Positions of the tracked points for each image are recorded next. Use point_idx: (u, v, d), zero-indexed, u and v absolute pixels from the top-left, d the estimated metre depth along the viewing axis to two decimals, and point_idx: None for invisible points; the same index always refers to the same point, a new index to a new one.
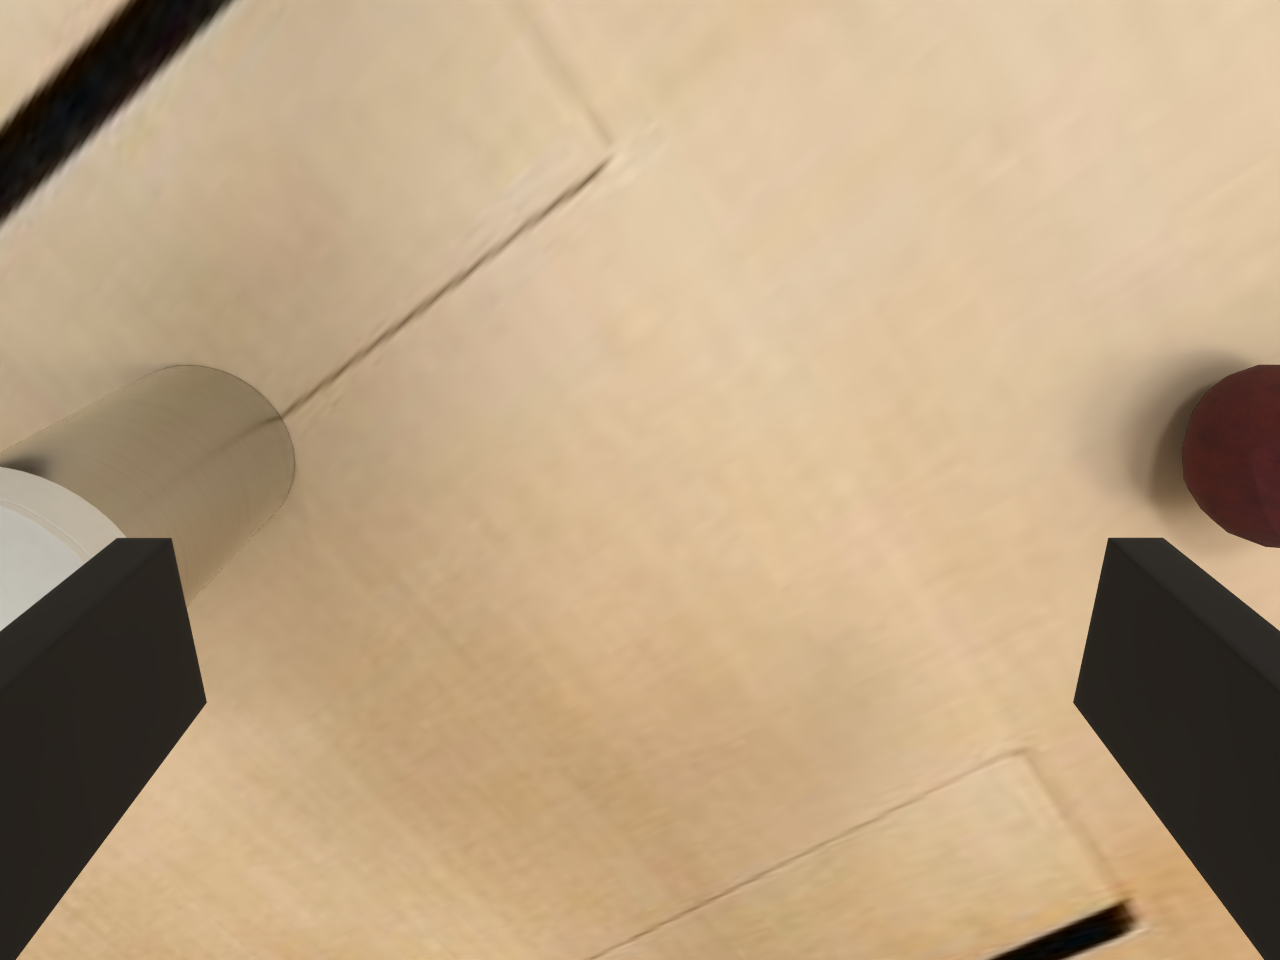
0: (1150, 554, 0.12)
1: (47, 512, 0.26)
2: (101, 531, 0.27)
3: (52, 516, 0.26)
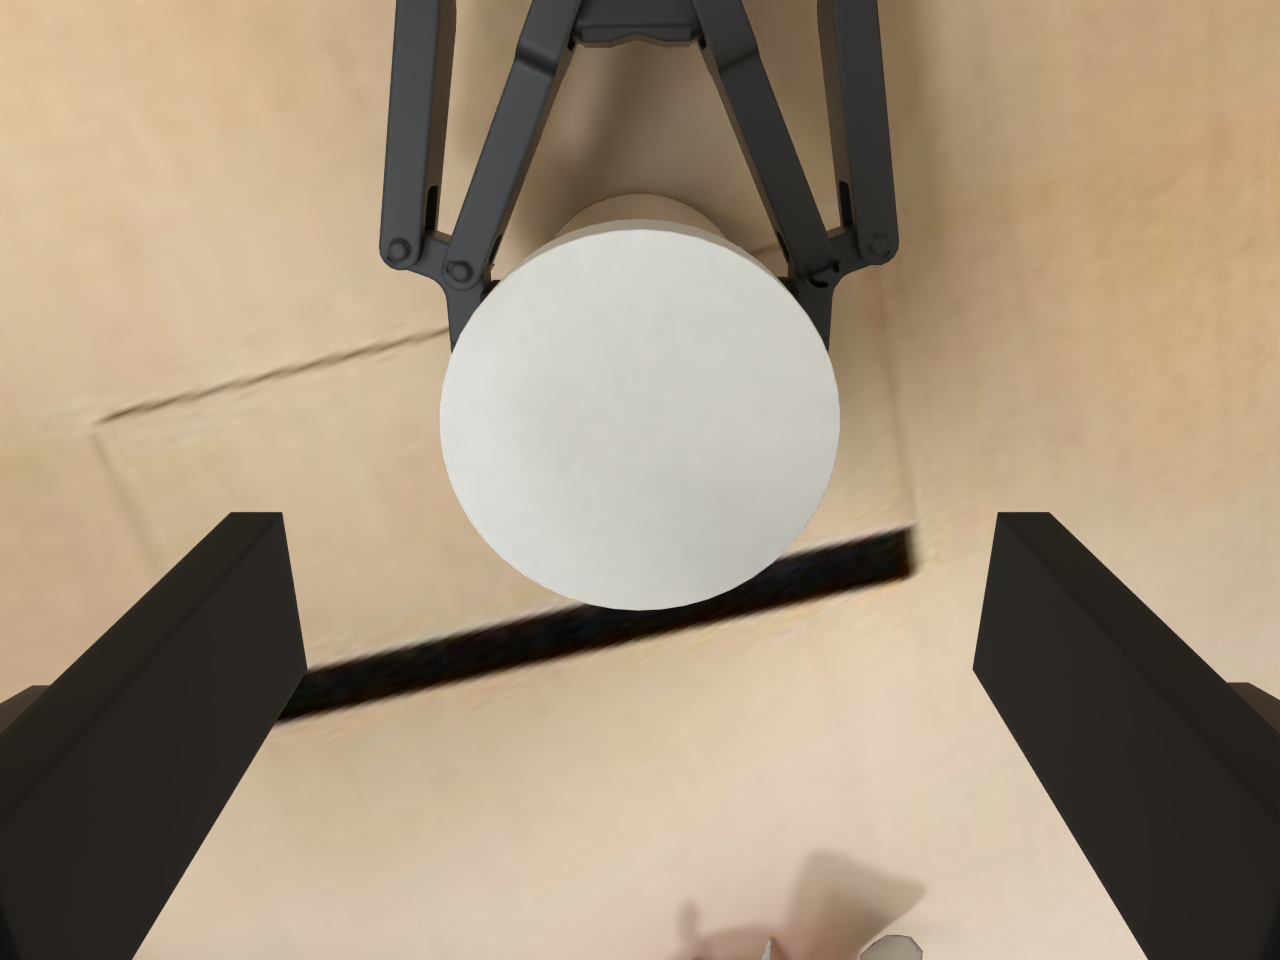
0: (1033, 526, 0.13)
1: None
2: None
3: None
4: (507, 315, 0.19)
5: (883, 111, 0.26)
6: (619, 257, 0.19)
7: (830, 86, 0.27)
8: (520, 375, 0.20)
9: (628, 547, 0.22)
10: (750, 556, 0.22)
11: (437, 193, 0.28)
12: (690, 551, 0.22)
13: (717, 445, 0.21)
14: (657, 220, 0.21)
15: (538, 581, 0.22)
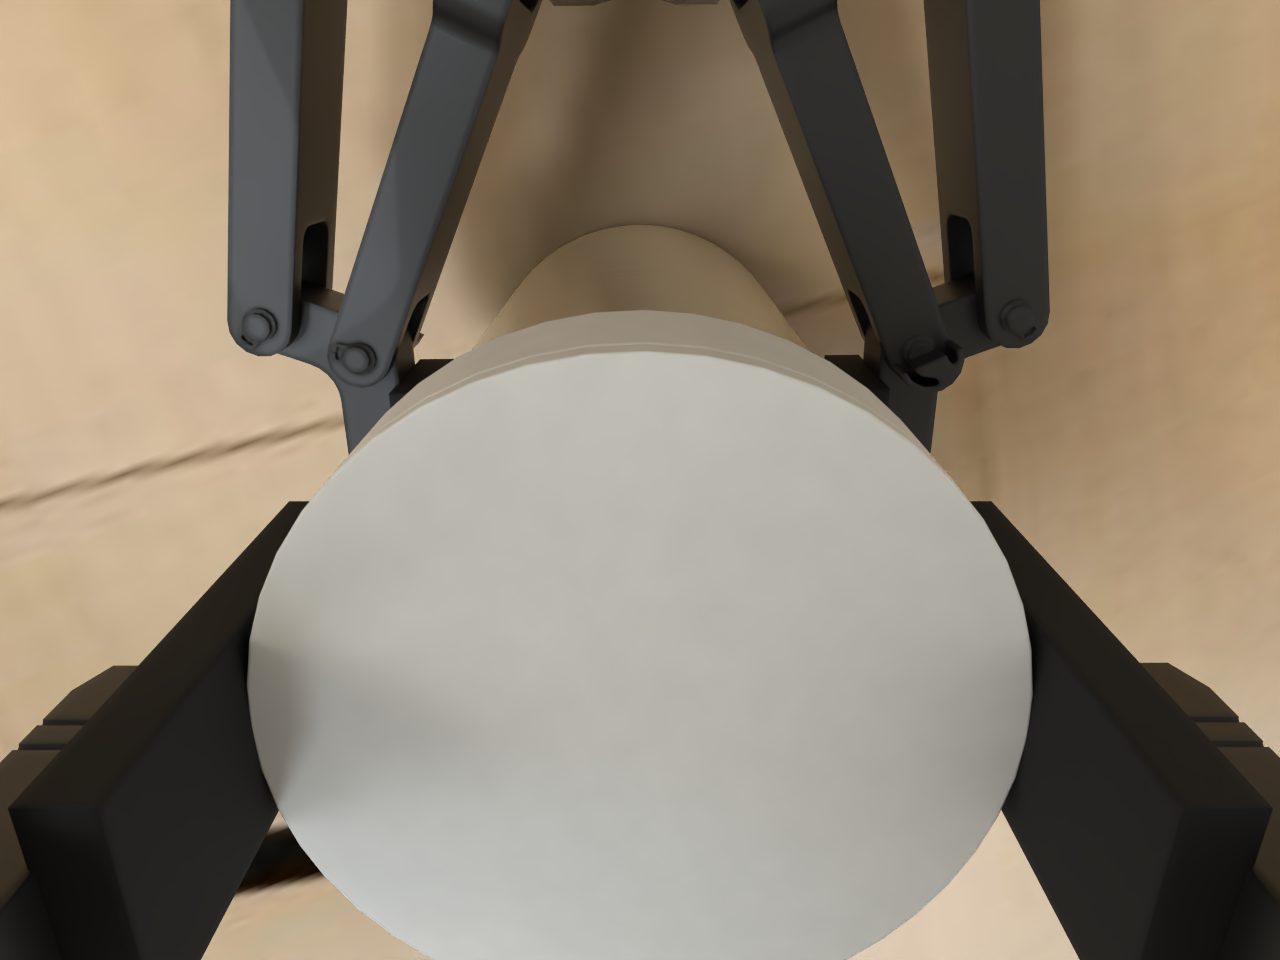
0: None
1: None
2: None
3: None
4: (368, 519, 0.10)
5: (1037, 106, 0.16)
6: (596, 408, 0.09)
7: (942, 66, 0.17)
8: (401, 628, 0.10)
9: (618, 913, 0.12)
10: (844, 928, 0.12)
11: (328, 233, 0.18)
12: (733, 920, 0.12)
13: (789, 750, 0.11)
14: (673, 314, 0.11)
15: None
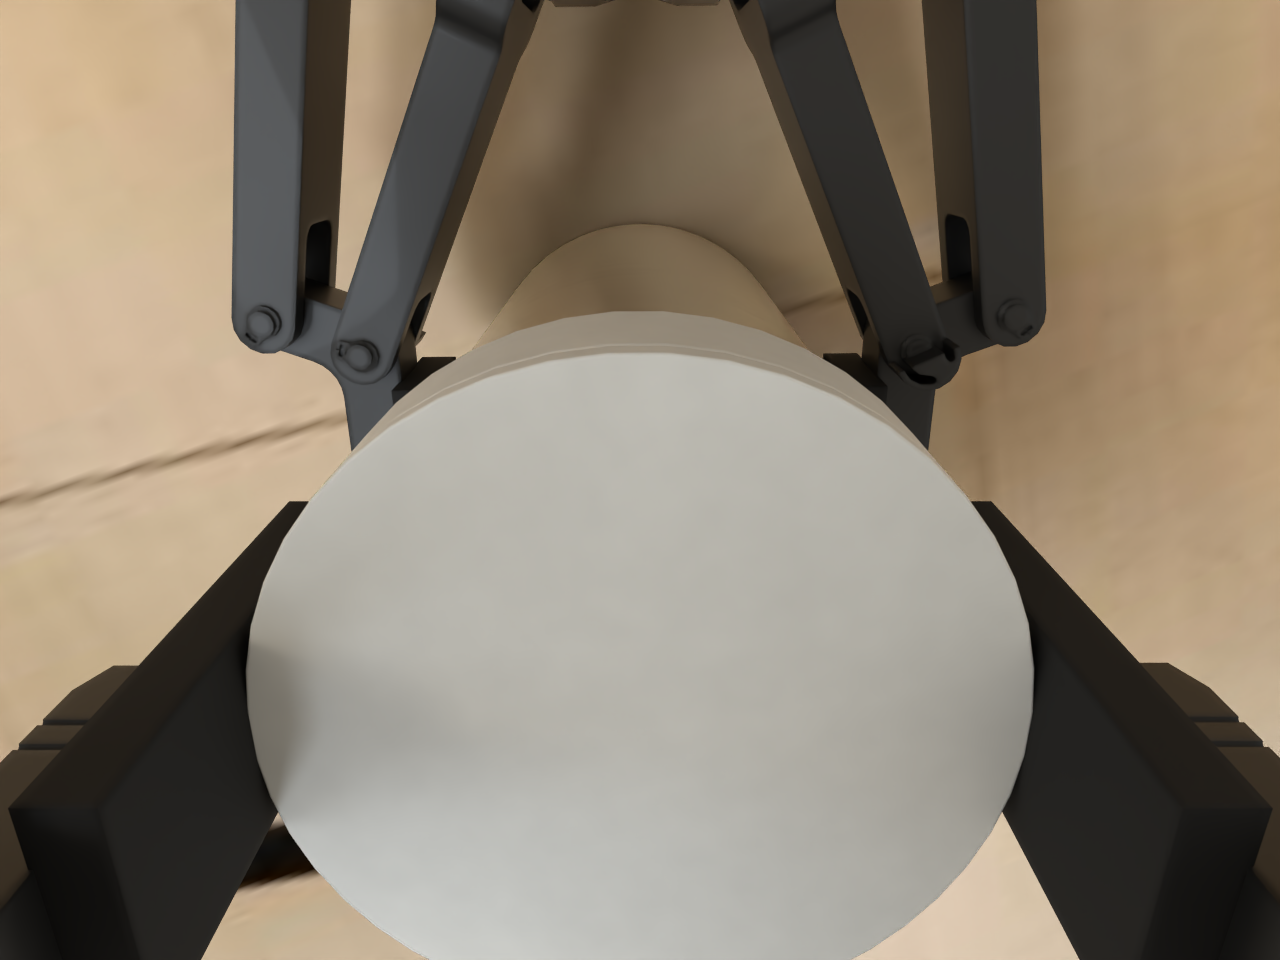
0: None
1: None
2: None
3: None
4: (414, 911, 0.12)
5: (1033, 106, 0.16)
6: (300, 752, 0.11)
7: (940, 67, 0.17)
8: (518, 902, 0.11)
9: (875, 764, 0.11)
10: (939, 543, 0.10)
11: (331, 231, 0.19)
12: (905, 658, 0.10)
13: (668, 603, 0.10)
14: None
15: (923, 905, 0.12)
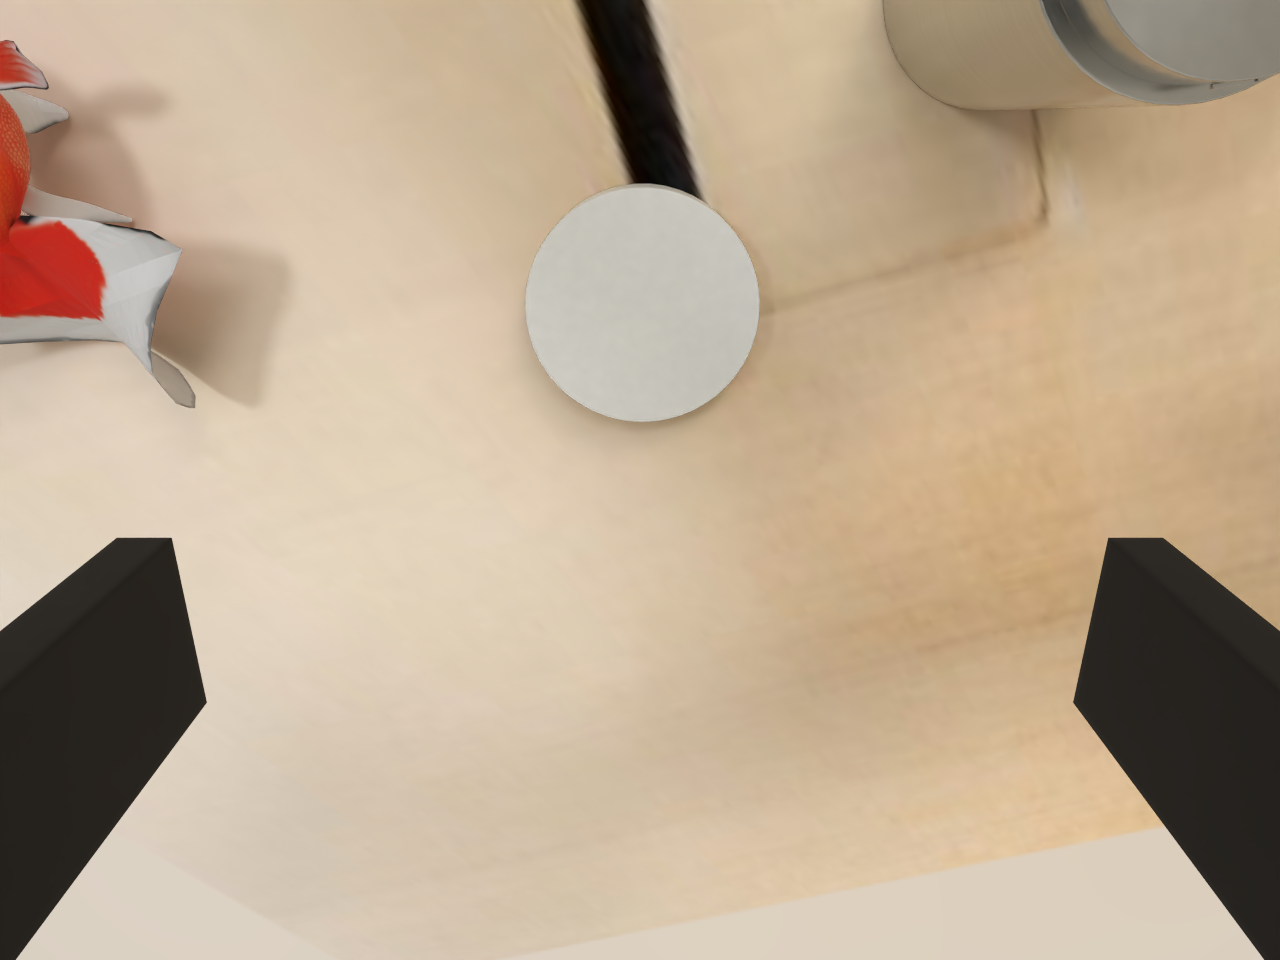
0: (1150, 554, 0.12)
1: None
2: None
3: None
4: (570, 378, 0.36)
5: None
6: (539, 316, 0.35)
7: None
8: (603, 374, 0.36)
9: (713, 321, 0.35)
10: (726, 244, 0.34)
11: None
12: (720, 282, 0.35)
13: (650, 264, 0.34)
14: None
15: (733, 376, 0.36)
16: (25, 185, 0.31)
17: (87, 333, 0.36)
